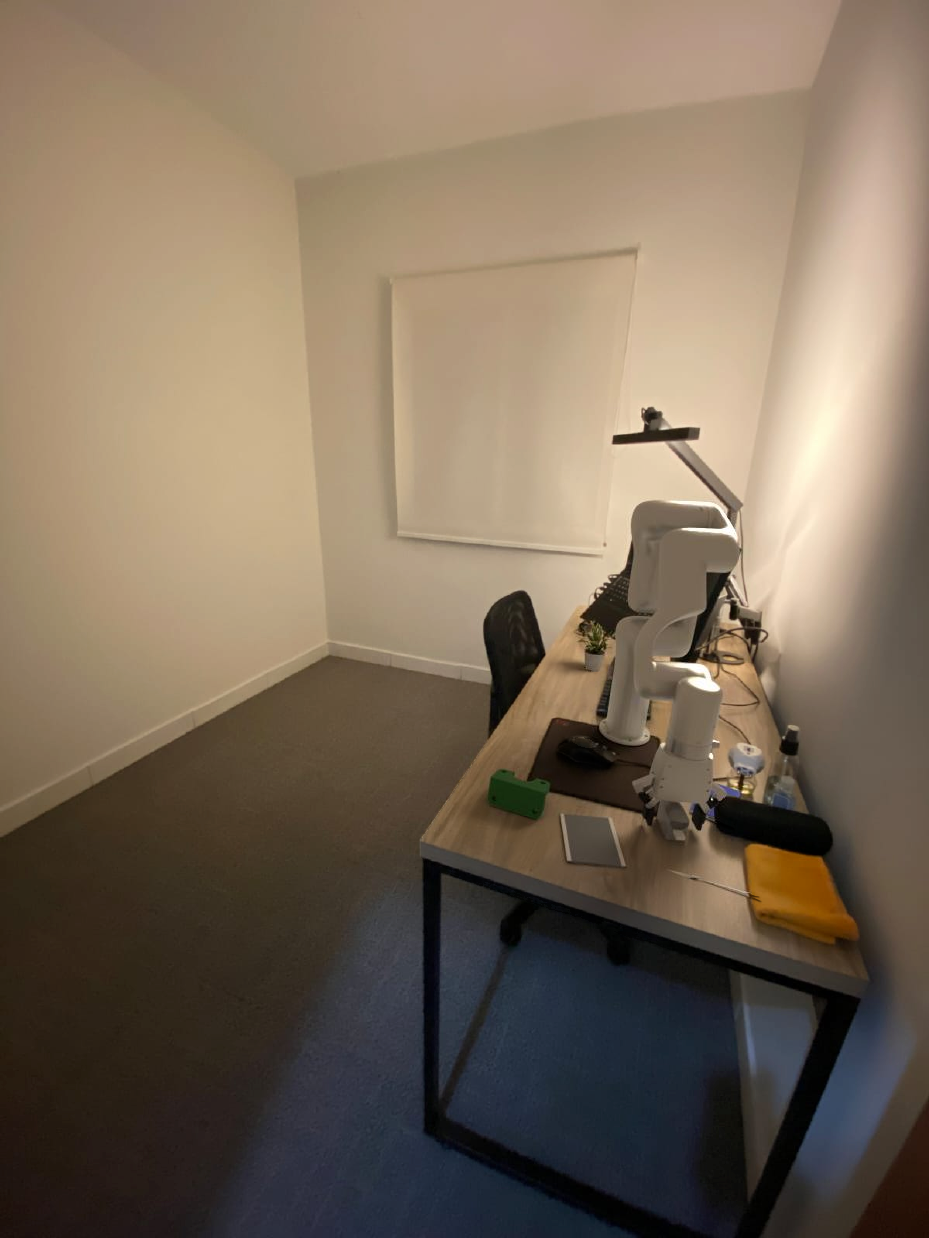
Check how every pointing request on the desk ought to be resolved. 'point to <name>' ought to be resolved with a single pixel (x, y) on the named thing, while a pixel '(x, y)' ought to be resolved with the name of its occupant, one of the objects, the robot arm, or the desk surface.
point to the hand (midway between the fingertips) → (671, 823)
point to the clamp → (518, 793)
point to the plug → (673, 820)
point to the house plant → (594, 649)
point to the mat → (591, 841)
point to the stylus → (713, 883)
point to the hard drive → (711, 815)
